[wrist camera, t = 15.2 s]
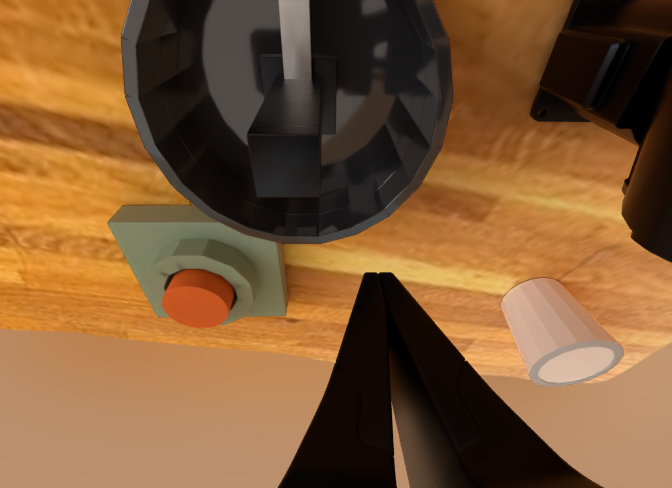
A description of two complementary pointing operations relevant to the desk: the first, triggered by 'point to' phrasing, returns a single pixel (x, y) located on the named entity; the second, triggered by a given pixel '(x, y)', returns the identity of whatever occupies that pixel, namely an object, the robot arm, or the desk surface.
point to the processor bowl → (247, 97)
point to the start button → (198, 298)
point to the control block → (200, 256)
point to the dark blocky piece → (293, 111)
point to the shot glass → (557, 334)
